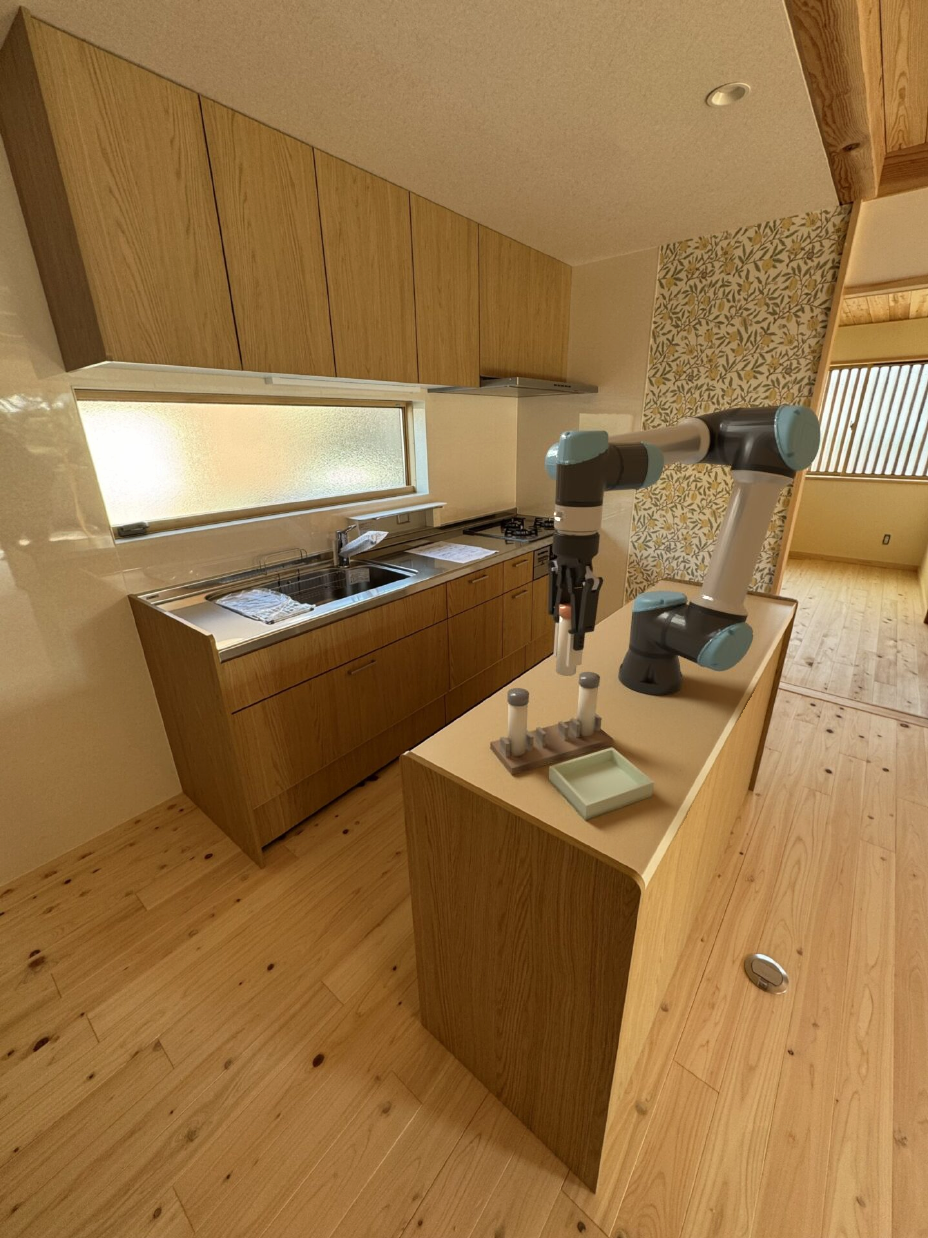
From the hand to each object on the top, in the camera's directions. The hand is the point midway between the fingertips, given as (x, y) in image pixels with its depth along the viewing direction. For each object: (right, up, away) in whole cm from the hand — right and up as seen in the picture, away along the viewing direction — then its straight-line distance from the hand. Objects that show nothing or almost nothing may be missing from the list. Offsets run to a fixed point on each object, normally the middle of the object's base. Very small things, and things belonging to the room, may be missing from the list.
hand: (567, 659), depth 90 cm
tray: (+5, -23, -1) cm, 23 cm away
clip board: (-1, -18, +10) cm, 21 cm away
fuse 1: (-8, -18, +7) cm, 21 cm away
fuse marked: (0, -2, +1) cm, 2 cm away
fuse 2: (+6, -16, +13) cm, 21 cm away
